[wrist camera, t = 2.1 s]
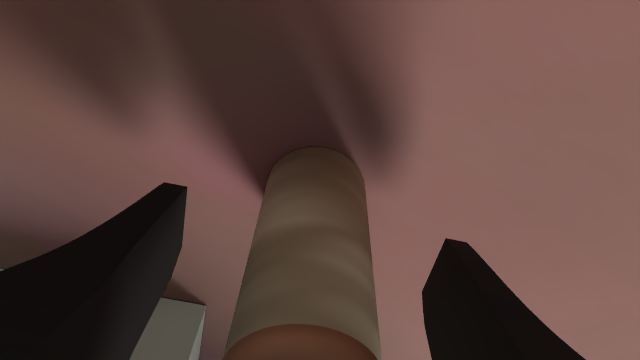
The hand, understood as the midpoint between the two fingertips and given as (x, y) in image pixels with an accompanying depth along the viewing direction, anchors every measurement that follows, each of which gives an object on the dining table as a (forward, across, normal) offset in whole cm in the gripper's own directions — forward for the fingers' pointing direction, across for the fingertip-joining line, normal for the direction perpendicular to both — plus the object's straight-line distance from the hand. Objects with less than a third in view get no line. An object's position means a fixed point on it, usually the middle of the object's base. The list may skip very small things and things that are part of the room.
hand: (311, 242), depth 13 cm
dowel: (+3, 0, 0) cm, 3 cm away
